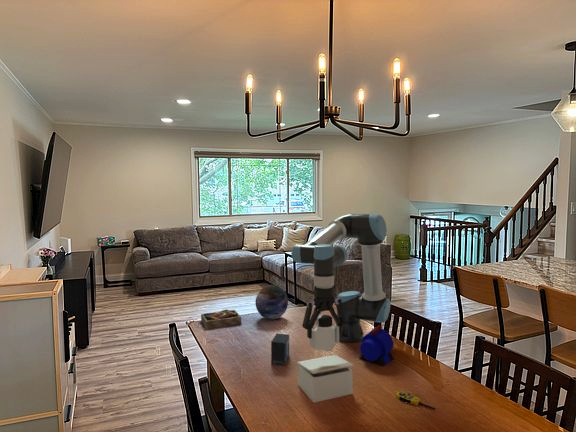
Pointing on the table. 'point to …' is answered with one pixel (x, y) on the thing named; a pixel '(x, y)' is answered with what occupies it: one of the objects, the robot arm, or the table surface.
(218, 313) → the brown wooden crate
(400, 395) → the yellow black screwdriver
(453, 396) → the table surface
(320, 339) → the medicine bottle
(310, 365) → the lid
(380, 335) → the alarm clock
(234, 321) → the filled wooden tray
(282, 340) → the small box
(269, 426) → the table surface
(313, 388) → the carton
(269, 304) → the decorative sphere
